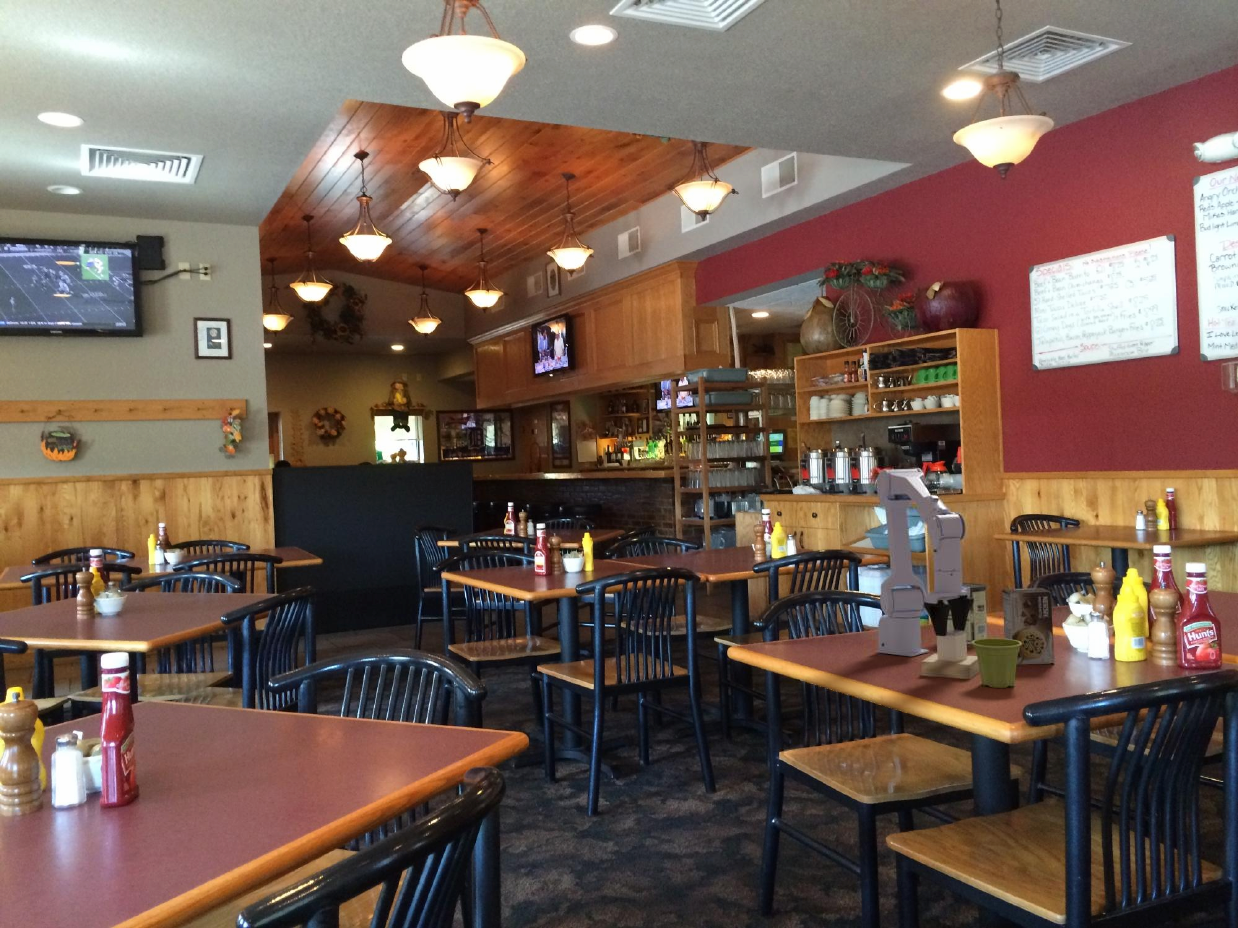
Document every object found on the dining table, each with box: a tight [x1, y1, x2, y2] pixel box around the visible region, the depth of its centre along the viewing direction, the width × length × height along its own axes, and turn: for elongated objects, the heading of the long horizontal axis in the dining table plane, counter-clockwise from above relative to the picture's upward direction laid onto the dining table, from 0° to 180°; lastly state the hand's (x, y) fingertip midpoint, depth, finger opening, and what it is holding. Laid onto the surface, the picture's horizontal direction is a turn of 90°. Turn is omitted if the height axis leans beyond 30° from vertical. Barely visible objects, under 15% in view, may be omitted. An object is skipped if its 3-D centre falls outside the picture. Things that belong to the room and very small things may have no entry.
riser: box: [920, 652, 980, 680], centre depth 214 cm, size 10×10×3 cm
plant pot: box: [971, 637, 1022, 689], centre depth 201 cm, size 9×9×9 cm
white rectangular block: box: [936, 629, 968, 662], centre depth 214 cm, size 4×4×6 cm
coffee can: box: [943, 582, 989, 645], centre depth 251 cm, size 10×10×14 cm
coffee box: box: [1001, 587, 1056, 666], centre depth 223 cm, size 9×6×16 cm
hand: (950, 633), depth 214 cm, fingers open, 7 cm apart
